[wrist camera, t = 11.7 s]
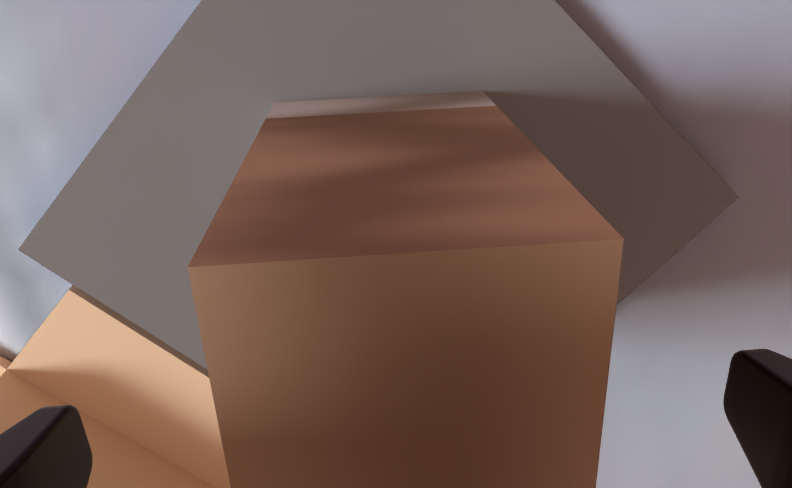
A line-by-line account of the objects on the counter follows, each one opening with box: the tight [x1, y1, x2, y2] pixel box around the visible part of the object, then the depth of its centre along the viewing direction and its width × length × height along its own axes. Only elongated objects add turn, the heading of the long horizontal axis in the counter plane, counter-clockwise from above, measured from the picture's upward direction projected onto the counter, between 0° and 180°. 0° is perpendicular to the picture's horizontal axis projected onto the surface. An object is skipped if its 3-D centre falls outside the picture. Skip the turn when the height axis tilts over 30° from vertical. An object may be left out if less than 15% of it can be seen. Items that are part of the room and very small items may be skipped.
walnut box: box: [187, 91, 624, 488], centre depth 11 cm, size 4×6×8 cm
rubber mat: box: [18, 0, 738, 370], centre depth 15 cm, size 12×12×1 cm
